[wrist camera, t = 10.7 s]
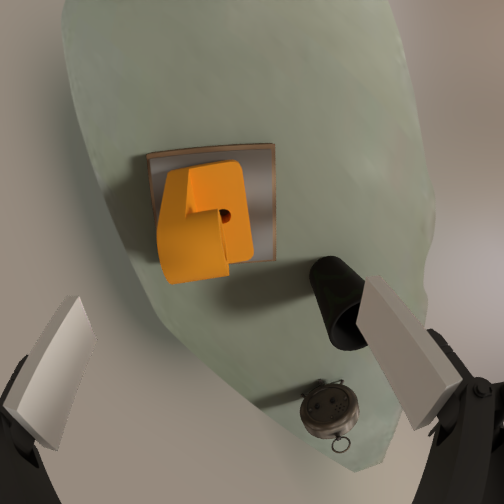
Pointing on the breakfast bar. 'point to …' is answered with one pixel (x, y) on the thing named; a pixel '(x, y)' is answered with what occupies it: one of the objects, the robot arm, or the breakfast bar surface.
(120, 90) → the breakfast bar surface
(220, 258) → the bracket
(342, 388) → the alarm clock
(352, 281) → the cup
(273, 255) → the plinth
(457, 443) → the robot arm
